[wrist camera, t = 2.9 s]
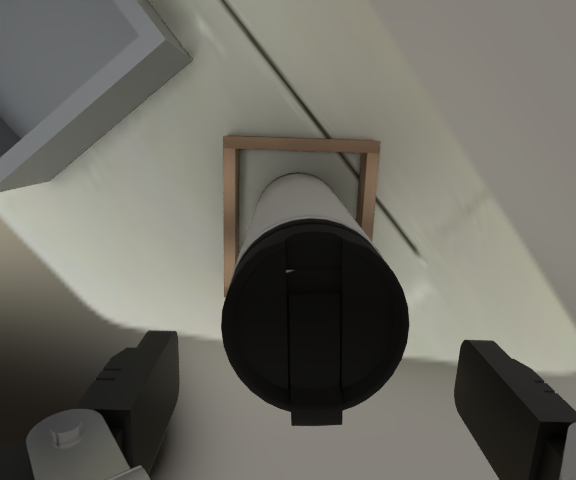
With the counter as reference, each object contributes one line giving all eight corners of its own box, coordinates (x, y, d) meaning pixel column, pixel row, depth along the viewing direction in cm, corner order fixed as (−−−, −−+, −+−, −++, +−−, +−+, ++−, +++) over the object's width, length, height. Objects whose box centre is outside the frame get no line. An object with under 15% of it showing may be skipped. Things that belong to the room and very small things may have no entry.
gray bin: (-99, 16, 29) (-216, -18, 22) (49, -130, 27) (-30, -217, 20) (49, 181, 32) (-15, 195, 25) (192, 59, 30) (165, 39, 23)
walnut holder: (228, 135, 31) (223, 136, 29) (372, 140, 31) (380, 141, 29) (228, 285, 34) (224, 297, 32) (360, 289, 34) (366, 301, 32)
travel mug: (258, 257, 34) (222, 433, 14) (255, 173, 32) (210, 240, 13) (337, 256, 34) (411, 429, 14) (339, 171, 32) (423, 236, 13)
